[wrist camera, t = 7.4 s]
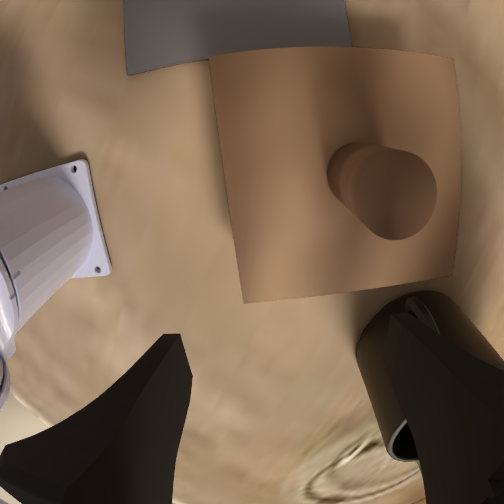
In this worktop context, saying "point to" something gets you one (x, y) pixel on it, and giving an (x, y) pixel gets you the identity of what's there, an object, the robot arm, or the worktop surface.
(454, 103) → the lid
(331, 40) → the mat
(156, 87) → the worktop surface
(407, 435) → the mug
